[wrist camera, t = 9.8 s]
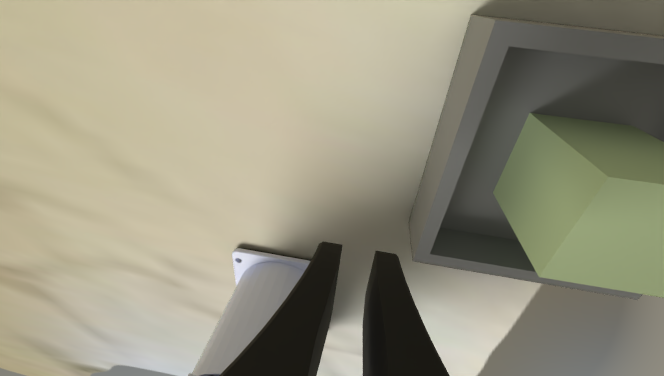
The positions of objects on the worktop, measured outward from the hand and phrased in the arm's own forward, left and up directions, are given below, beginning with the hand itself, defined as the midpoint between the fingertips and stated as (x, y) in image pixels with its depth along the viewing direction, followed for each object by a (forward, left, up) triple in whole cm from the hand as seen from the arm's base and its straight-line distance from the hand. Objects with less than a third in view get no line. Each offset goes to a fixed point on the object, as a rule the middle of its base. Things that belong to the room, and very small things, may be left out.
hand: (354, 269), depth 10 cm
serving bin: (+1, -10, -9) cm, 13 cm away
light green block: (+1, -10, -8) cm, 13 cm away
